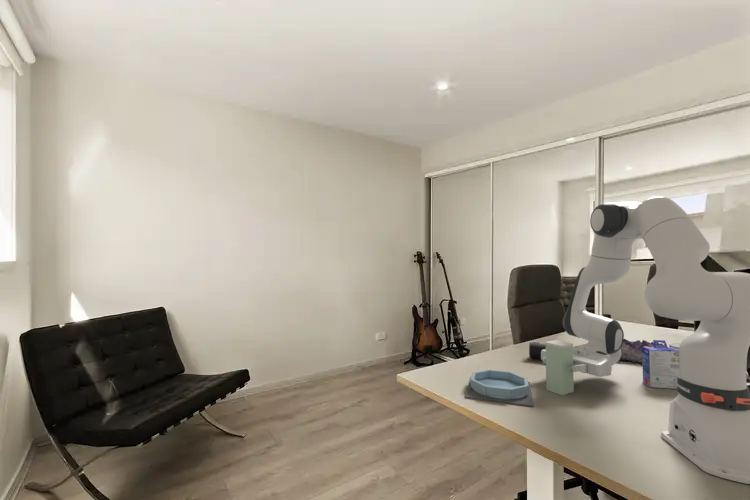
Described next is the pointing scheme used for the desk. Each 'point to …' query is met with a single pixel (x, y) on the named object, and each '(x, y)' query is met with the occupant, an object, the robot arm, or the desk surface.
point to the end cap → (536, 350)
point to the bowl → (500, 384)
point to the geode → (634, 350)
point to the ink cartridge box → (660, 365)
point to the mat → (523, 401)
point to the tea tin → (559, 367)
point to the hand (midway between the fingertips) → (557, 364)
